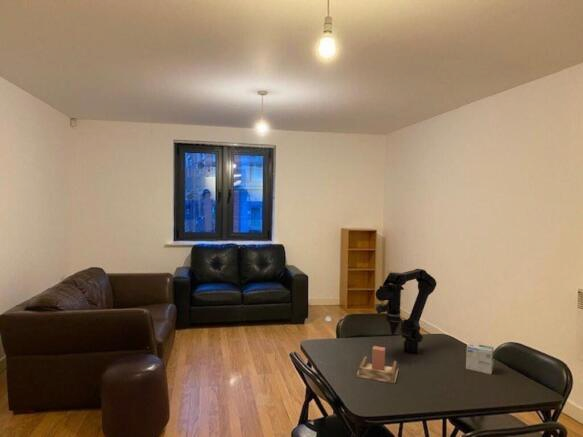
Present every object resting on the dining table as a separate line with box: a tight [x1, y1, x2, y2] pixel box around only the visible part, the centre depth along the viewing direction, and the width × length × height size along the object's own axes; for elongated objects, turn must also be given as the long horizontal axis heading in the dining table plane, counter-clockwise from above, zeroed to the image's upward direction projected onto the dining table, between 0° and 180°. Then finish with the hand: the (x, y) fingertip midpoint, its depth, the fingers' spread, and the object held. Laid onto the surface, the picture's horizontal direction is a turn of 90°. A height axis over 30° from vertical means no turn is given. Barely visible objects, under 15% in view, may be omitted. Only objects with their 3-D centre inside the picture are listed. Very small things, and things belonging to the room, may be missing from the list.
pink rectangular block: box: [371, 345, 386, 371], centre depth 173 cm, size 5×4×10 cm
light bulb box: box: [465, 342, 495, 375], centre depth 181 cm, size 11×7×11 cm, turn 58°
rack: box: [356, 355, 399, 384], centre depth 173 cm, size 16×14×4 cm
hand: (392, 332), depth 191 cm, fingers open, 9 cm apart
